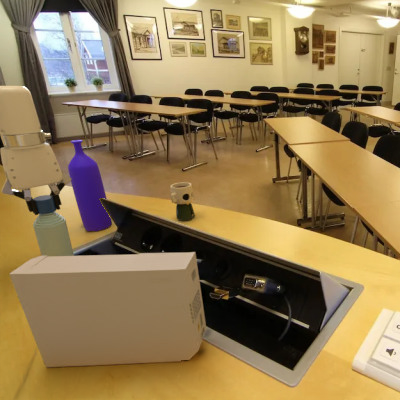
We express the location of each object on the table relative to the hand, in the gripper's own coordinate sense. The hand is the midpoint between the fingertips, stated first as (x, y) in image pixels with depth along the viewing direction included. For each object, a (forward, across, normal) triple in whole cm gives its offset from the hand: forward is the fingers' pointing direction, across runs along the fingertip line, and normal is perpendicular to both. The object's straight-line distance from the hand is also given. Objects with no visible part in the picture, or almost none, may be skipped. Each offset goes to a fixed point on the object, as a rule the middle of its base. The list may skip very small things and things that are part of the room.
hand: (46, 210), depth 83 cm
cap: (0, 0, +1) cm, 1 cm away
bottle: (+17, -15, -19) cm, 30 cm away
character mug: (+17, -38, -3) cm, 42 cm away
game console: (+17, +1, +46) cm, 49 cm away
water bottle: (+16, +1, 0) cm, 16 cm away
